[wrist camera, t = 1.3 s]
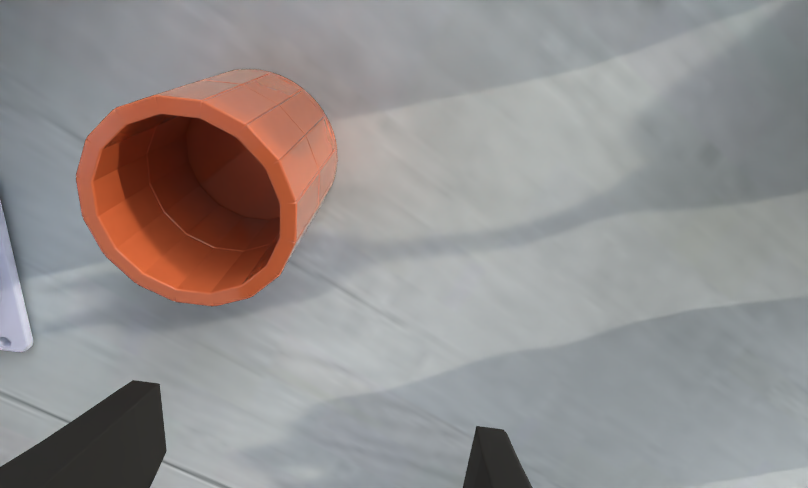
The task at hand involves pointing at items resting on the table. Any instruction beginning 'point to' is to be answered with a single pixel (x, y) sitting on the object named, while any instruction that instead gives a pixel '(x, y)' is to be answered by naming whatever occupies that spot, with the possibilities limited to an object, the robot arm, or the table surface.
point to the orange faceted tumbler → (208, 184)
